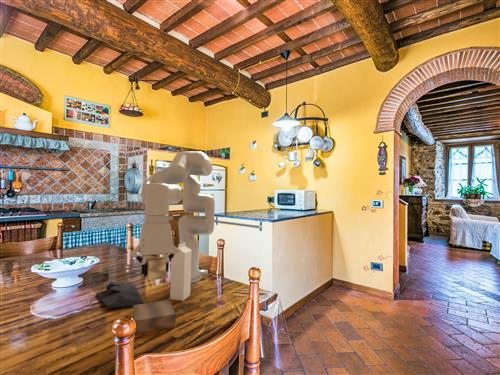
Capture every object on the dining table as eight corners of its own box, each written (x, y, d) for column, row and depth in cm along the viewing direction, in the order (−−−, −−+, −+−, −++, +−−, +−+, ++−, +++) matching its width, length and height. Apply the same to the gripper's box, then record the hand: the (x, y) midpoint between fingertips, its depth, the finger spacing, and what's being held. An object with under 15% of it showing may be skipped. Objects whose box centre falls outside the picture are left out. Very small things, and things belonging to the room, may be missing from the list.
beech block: (160, 274, 88) (161, 256, 89) (165, 278, 84) (166, 259, 84) (145, 276, 85) (146, 258, 86) (149, 280, 81) (150, 261, 82)
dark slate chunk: (100, 315, 90) (100, 301, 90) (96, 294, 108) (96, 282, 108) (146, 305, 98) (146, 293, 98) (135, 287, 117) (135, 277, 117)
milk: (169, 299, 104) (171, 244, 104) (177, 293, 109) (178, 241, 110) (183, 301, 102) (184, 245, 103) (190, 295, 108) (191, 242, 109)
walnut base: (169, 310, 93) (169, 299, 93) (175, 326, 82) (175, 313, 83) (133, 317, 88) (133, 305, 88) (134, 334, 77) (134, 320, 77)
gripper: (180, 218, 93) (179, 269, 93) (128, 219, 86) (126, 274, 85) (185, 220, 87) (183, 275, 86) (128, 221, 79) (126, 281, 78)
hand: (154, 274), depth 86 cm, fingers closed on beech block, 5 cm apart
